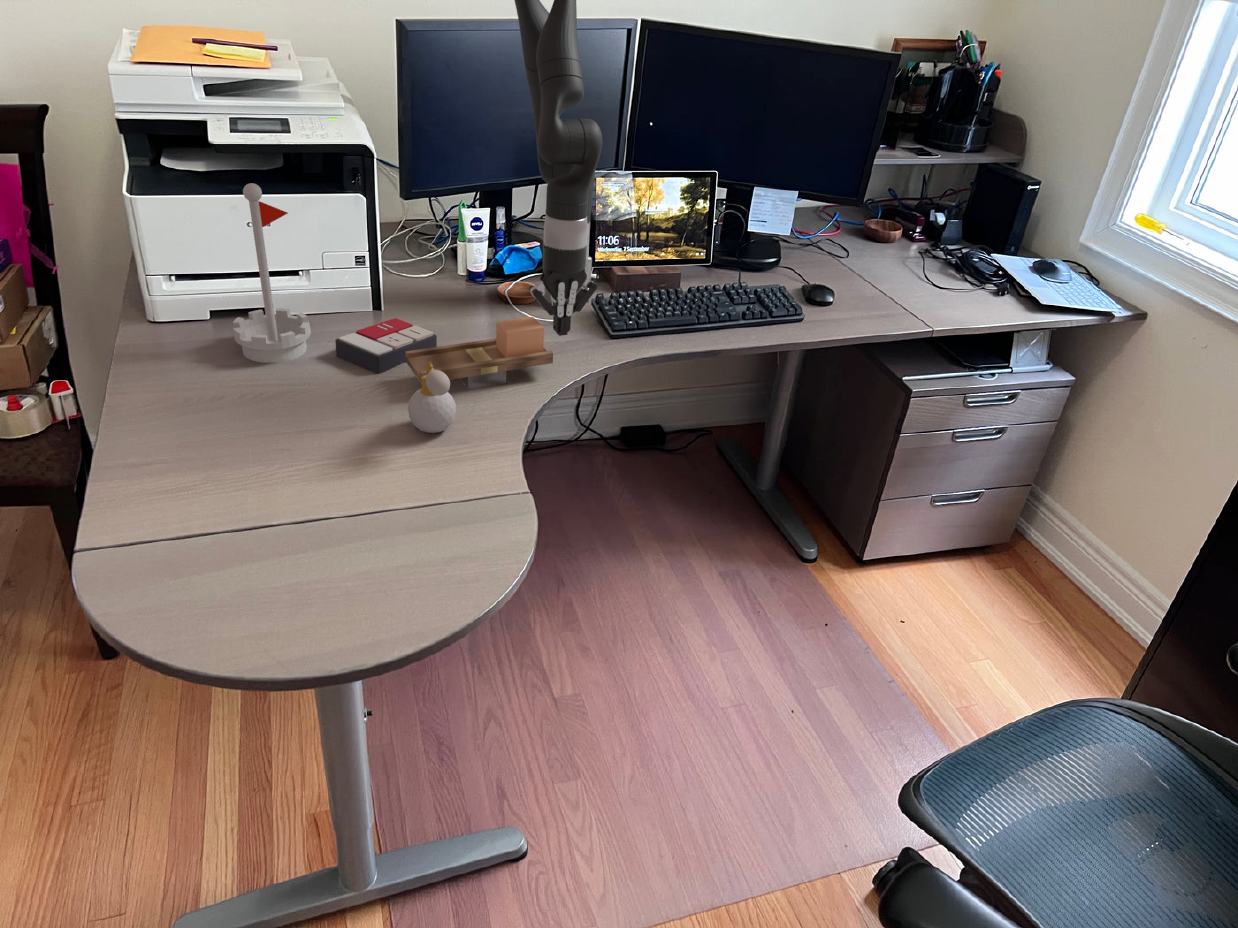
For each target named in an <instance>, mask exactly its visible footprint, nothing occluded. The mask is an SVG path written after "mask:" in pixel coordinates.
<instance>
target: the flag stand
mask: <svg viewBox="0 0 1238 928" xmlns="http://www.w3.org/2000/svg"><path fill="white" fill-rule="evenodd" d="M242 194H243V197H244V198H245V199H246V200H247V201H248V202H249V203H248V204H249V205H248V206H249V212H250V218H251V226H252V232H253V238H254V239H253V240H254V245H255V252H256V261H257V265H258V272H259V280H260V284H261V293H262V299H263V306H264V311H263V309H257V310H256V309H255V310H253V311H249V312H248V318H247V319H245V318H244V317H241V316H238V317H236V318H235V319H234V320H233V321H232V332H233V339H234V341H235V342H236V344H238V345H240V346H241V349H242V350H241V351H242V354H243V356H244V357H245V358H247V359H248V360H250V361H253V362H257V363H264V364H270V363H271V364H275V363H284V362H288V361H292V360H295V359H297V358H300V357H301V356H303V355H304V354H305V353H306V352H307V340H308V339H309V338H310V337H311V332H312V330H311V324H310V322H309V316H307V314H305V313H303V312H302V311H301V312H297V313H296V315H292V313H291V312H292V311H291V309H290V308H279V307H277V308H274V300H273V294H272V287H271V281H270V279H271V278H270V273H269V267H268V265H269V264H268V258H267V257H268V256H267V252H266V245H265V237H264V236H265V235H264V230H263V228H264V227H266V226H267V225H270V224H271V223H273V222H275V221H277V220H279V219H280V218H282V217H284V216H285V215H288V214H289V212H288V211H285V210H282V209H280V208H277V207H275V206H272V205H270V204H268V203H264V202H262V201H260V200H261V198H262V197H263V196H262V195H263V192H262V188H261V187H260V186H259V185H258V184H257V183H250V182H249V183H247V184H246V185H245V186H244V187H243V189H242ZM264 312H265V314H264Z"/></svg>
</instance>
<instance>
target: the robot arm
mask: <svg viewBox="0 0 1238 928" xmlns="http://www.w3.org/2000/svg"><path fill="white" fill-rule="evenodd" d="M514 5H515V10H516V14H517V20H518V25H519V31H520V38H521V41H520V42H521V47H522V54H523V55H522V56H523V63H524V69H525V73H526V74H525V75H526V80H527V84H528V89H529V93H530V100H531V105H532V110H533V118H534V128H535V137H536V141H535V142H536V151H537V152H536V153H537V162H538V170H539V173H540V176H541V179H542V180H543V181H544V182H545V183H546V184H547V186H546V198H545V199H546V203H545V217H544V223H543V245H542V246H543V248H542V251H543V252H542V272H541V275H540V277H539V279H540V280H539V281H538V282H537V284H535V285H529V286H528V292H529V293H530V294H531V295H532V297H533V298H534V299H535V300H536V302H537V303H538V304H539V305H540V306H541V307H542V309H543V310H544V311H545V312H546V313H548V315H549V316H553V320H552V329H553V331H554V332H555V333H556V334H557V335H558V336H560V337H561V336H562V337H563V336H567V335H568V333H569V332H570V330H571V325H572V324H571V322H572V321H571V319H572V315H574V313H576V312H577V313H579V312H581V311H582V309H583V308H584V307H585V305H586V304H587V303H588V302H589V301H590V298H591V297H592V296H593V295H594V293H596V290H597V289H598V284H597V283H596V282H594V281H593V280H592V265H593V264H592V263H593V259H592V257H591V256H590V255H589V250H590V246H589V245H590V233H591V232H590V230H591V216H592V215H591V214H592V206H593V198H594V197H593V196H594V186H595V179H596V177H595V176H596V169H597V166H598V163H599V161H600V157H601V154H602V150H603V134H602V131H601V128H600V126H599V125H598V123H597V122H596V121H595V120H593V119H591V118H560V116H562V115H561V114H562V113H563V111H564V110H565V109H570V108H573V107H576V106H577V105H579V104H581V102H582V101H583V100H584V98H585V97H584V96H585V89H584V87H585V86H584V81H583V80H584V79H583V73H582V67H581V66H582V65H581V60H580V51H579V43H578V41H579V40H578V25H577V24H578V23H577V22H578V21H577V19H578V18H577V0H553V2H552V6H551V9H550V11H548V9H547V8H546V7H545V6H544V5H543V3H542V2H541V0H514Z"/></svg>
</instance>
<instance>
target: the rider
mask: <svg viewBox="0 0 1238 928" xmlns="http://www.w3.org/2000/svg"><path fill="white" fill-rule="evenodd" d="M495 324H496V325H495V326H496V327H495V328H496V330H495V331H496V332H495V334H496V335H495V338H496V348H497V349H498V350H499V351H500V352H501V353H502V354H503V355H504V357H505V358H507V357H513V356H520V355H526V354H533V353H539V352H543V348H544V340H545V339H544V335H545V327H544V326H543V324H541V323H540V322H539V321H538V320H537V319H536V318H535V317H534V316H527V317H521V318H514V319H506V320H497V321H495Z"/></svg>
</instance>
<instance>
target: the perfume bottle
mask: <svg viewBox="0 0 1238 928" xmlns="http://www.w3.org/2000/svg"><path fill="white" fill-rule="evenodd" d="M432 367H433V365H432V364H431V362H429V364H428V368H427V370H426V371H427V375H425V376H423V377H422V384H421V388H419V389H418V390H416V391H415V392H414V393H413V394H412V395H411V398H410V399H409V401H408V405H407V406H408V407H407V412H408V417H409V420H410V421H411V423H412V424H413V425H414V427H416V428H417V429H418V430H419V431H422V432H424V433H427V434H434V433H440V432H443V431H445V430H447V429H448V428H450V426H451V425H452V424H453V422H454V420H455V418H456V413H457V406H456V402H455V400H454V397H453V396H452V394H451V393H450V392H449V391H450V388H451V387H450V386H451V380H449V378H448V376H447V375H446V374H445V373H443V372H442V371H439V370H434V368H432Z"/></svg>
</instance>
